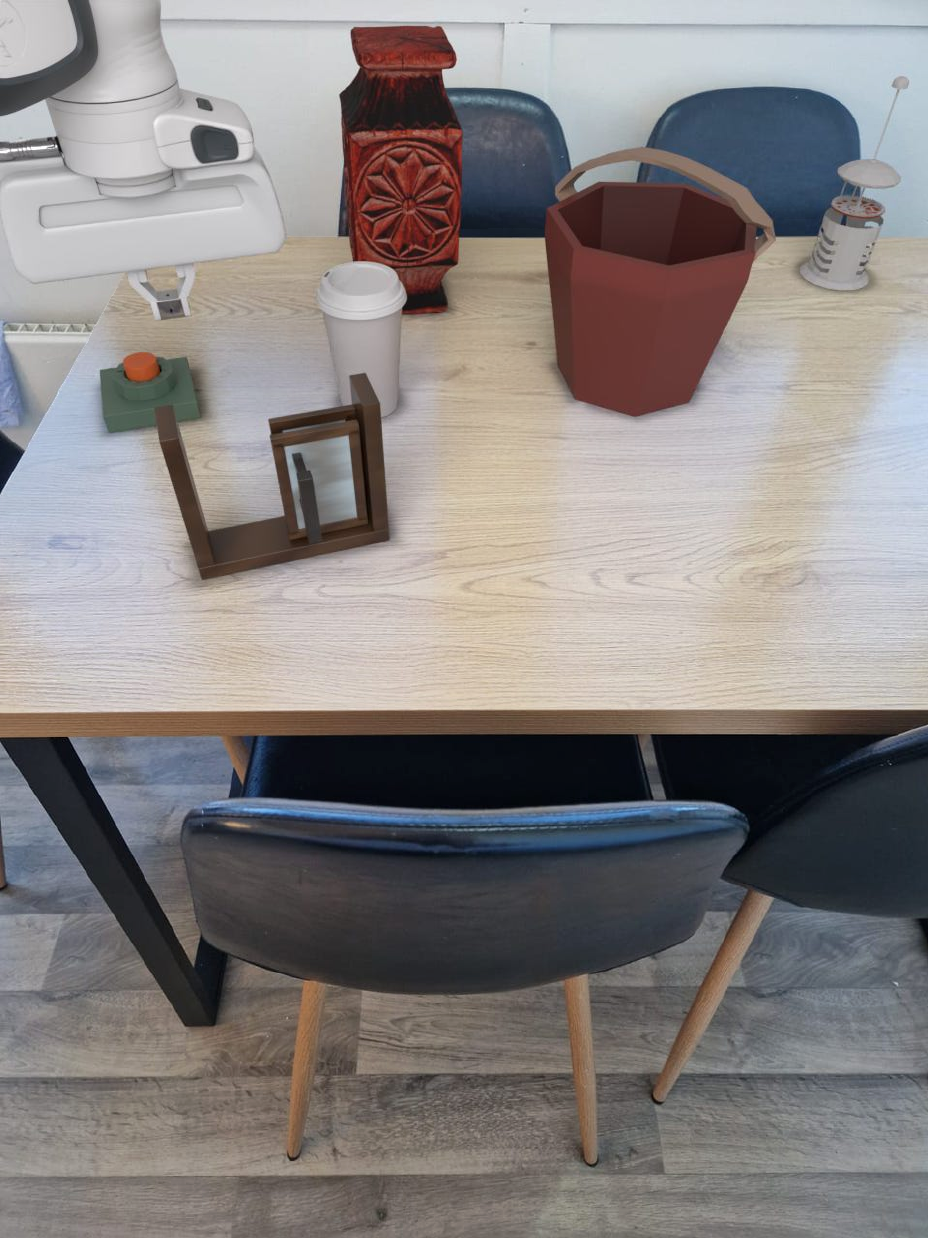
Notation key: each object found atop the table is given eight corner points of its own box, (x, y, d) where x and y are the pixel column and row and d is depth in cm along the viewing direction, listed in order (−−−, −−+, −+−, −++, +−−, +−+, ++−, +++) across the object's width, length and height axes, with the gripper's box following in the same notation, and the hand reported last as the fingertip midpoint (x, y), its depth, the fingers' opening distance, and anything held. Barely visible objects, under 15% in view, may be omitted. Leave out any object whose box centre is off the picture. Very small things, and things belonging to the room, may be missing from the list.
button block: (109, 433, 92) (98, 402, 89) (105, 386, 99) (94, 355, 96) (200, 417, 95) (193, 386, 92) (191, 372, 101) (183, 342, 98)
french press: (804, 287, 118) (869, 85, 100) (793, 252, 126) (852, 58, 108) (875, 292, 117) (954, 90, 99) (860, 256, 125) (931, 62, 107)
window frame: (201, 580, 77) (159, 441, 66) (195, 545, 80) (153, 407, 69) (389, 540, 81) (380, 402, 70) (376, 508, 84) (365, 372, 73)
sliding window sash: (299, 573, 75) (280, 472, 67) (288, 535, 79) (269, 434, 70) (380, 555, 77) (372, 454, 69) (366, 519, 80) (357, 419, 72)
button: (128, 384, 92) (123, 370, 91) (126, 368, 95) (121, 354, 93) (161, 379, 93) (157, 365, 92) (158, 363, 96) (154, 349, 94)
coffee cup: (364, 372, 101) (354, 249, 90) (427, 398, 98) (424, 273, 87) (311, 408, 96) (293, 282, 85) (375, 437, 93) (365, 309, 81)
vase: (461, 318, 111) (464, 53, 89) (357, 324, 109) (335, 56, 87) (446, 271, 120) (446, 20, 98) (351, 276, 119) (329, 22, 96)
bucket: (763, 394, 100) (835, 170, 81) (632, 460, 90) (679, 225, 72) (619, 312, 113) (653, 103, 94) (491, 363, 103) (501, 142, 85)
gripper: (-40, 162, 54) (39, 354, 65) (273, 131, 59) (301, 316, 69) (-33, 129, 58) (40, 315, 69) (260, 103, 63) (288, 281, 73)
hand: (173, 315), depth 69 cm, fingers closed
